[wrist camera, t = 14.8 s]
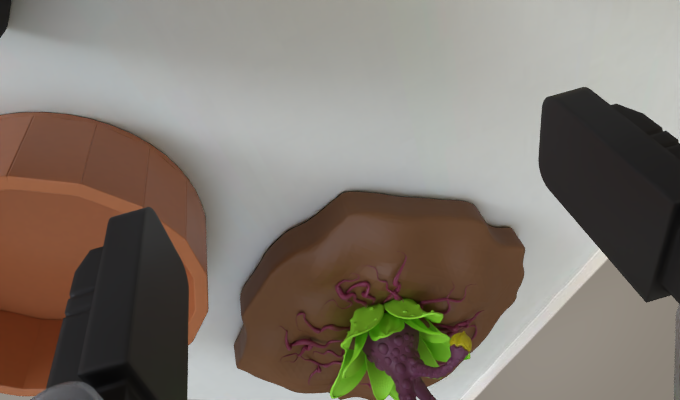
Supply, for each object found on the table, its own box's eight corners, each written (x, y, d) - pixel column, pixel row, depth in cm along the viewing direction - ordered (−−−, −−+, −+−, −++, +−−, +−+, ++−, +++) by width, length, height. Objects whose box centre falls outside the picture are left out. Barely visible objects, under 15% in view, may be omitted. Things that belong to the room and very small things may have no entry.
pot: (-129, 85, 24) (-199, 154, 19) (228, 137, 29) (234, 200, 25) (-80, 316, 32) (-121, 399, 28) (189, 323, 37) (188, 394, 33)
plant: (310, 152, 31) (356, 301, 22) (551, 224, 39) (652, 353, 31) (201, 364, 40) (204, 523, 32) (413, 385, 49) (459, 516, 40)
